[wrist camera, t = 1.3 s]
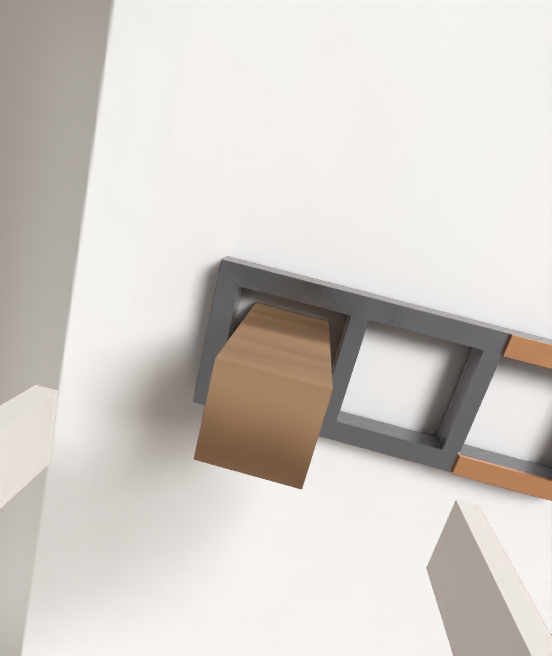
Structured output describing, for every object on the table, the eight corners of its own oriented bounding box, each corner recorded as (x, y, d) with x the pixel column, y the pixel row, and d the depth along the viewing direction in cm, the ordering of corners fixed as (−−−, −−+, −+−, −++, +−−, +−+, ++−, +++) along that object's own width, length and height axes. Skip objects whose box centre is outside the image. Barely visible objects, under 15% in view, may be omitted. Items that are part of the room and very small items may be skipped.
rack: (227, 256, 24) (221, 259, 23) (633, 361, 24) (657, 372, 22) (199, 391, 27) (192, 402, 25) (564, 490, 26) (580, 508, 24)
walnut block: (256, 301, 25) (215, 358, 15) (328, 320, 25) (332, 389, 15) (240, 368, 26) (193, 459, 17) (309, 387, 26) (301, 489, 16)
